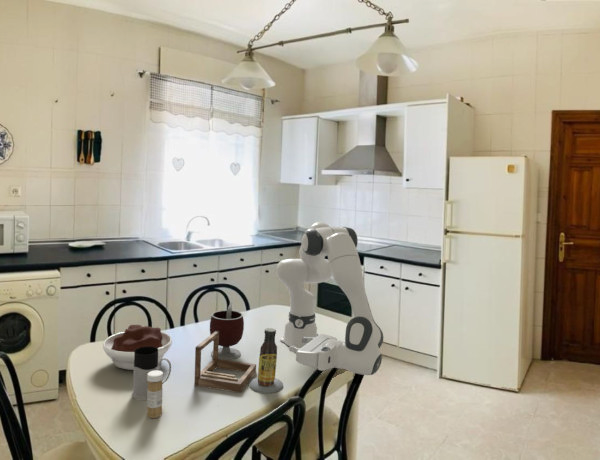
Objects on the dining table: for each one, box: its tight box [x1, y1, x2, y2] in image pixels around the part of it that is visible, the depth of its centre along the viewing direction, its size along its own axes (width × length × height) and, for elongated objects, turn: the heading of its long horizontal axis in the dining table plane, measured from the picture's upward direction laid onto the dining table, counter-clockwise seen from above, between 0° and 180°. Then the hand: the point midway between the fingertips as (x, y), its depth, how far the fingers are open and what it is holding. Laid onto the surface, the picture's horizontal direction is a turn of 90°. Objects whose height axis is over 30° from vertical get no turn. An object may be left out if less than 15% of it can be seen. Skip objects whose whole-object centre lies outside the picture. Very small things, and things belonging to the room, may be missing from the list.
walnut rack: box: [193, 331, 257, 393], centre depth 167 cm, size 18×17×14 cm
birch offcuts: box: [202, 371, 239, 382], centre depth 163 cm, size 4×12×4 cm, turn 78°
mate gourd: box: [209, 302, 245, 361], centre depth 190 cm, size 16×14×20 cm
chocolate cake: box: [102, 324, 173, 371], centre depth 175 cm, size 25×25×15 cm
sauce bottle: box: [257, 327, 278, 386], centre depth 163 cm, size 6×6×20 cm
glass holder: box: [131, 347, 172, 401], centre depth 151 cm, size 9×14×15 cm, turn 69°
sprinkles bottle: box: [146, 370, 164, 419], centre depth 139 cm, size 5×5×14 cm
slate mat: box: [248, 377, 284, 394], centre depth 164 cm, size 12×12×1 cm
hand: (296, 343), depth 160 cm, fingers open, 8 cm apart
